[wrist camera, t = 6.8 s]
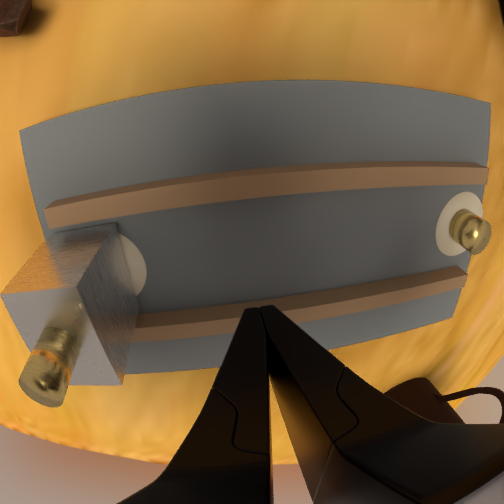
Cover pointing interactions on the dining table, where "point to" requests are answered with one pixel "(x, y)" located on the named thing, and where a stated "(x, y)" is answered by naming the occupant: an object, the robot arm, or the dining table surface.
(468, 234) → the fixed brass pin
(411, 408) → the coffee mug
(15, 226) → the dining table surface
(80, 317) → the sliding pin block
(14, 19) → the bolt
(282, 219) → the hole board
